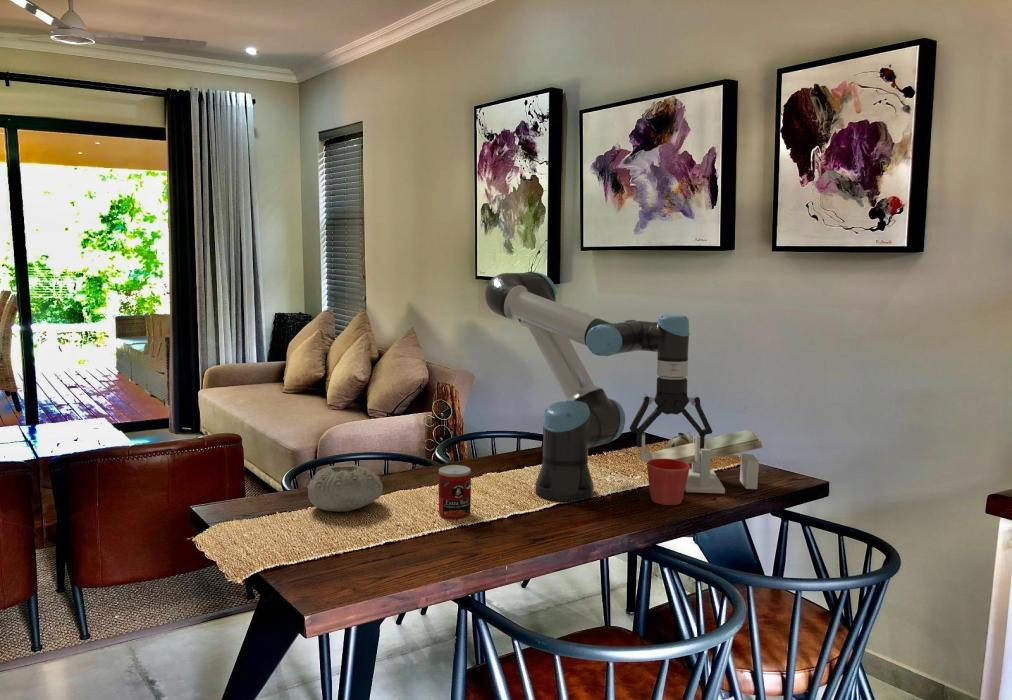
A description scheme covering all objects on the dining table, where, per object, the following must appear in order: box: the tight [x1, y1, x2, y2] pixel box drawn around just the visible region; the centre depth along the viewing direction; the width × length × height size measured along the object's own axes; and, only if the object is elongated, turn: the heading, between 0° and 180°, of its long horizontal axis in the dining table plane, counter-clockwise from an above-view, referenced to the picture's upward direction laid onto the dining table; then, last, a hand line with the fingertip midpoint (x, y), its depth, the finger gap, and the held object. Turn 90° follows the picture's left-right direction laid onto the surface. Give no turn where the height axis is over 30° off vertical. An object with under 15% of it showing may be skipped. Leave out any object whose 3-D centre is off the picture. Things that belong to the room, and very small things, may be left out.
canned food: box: [438, 464, 472, 520], centre depth 193 cm, size 8×8×11 cm
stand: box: [684, 436, 760, 494], centre depth 222 cm, size 20×18×11 cm
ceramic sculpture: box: [659, 432, 694, 450], centre depth 246 cm, size 11×9×15 cm
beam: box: [645, 429, 763, 465], centre depth 222 cm, size 30×12×3 cm, turn 85°
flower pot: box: [646, 459, 691, 506], centre depth 206 cm, size 11×11×10 cm
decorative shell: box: [306, 464, 384, 513], centre depth 197 cm, size 18×18×10 cm
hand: (669, 460), depth 205 cm, fingers open, 13 cm apart
